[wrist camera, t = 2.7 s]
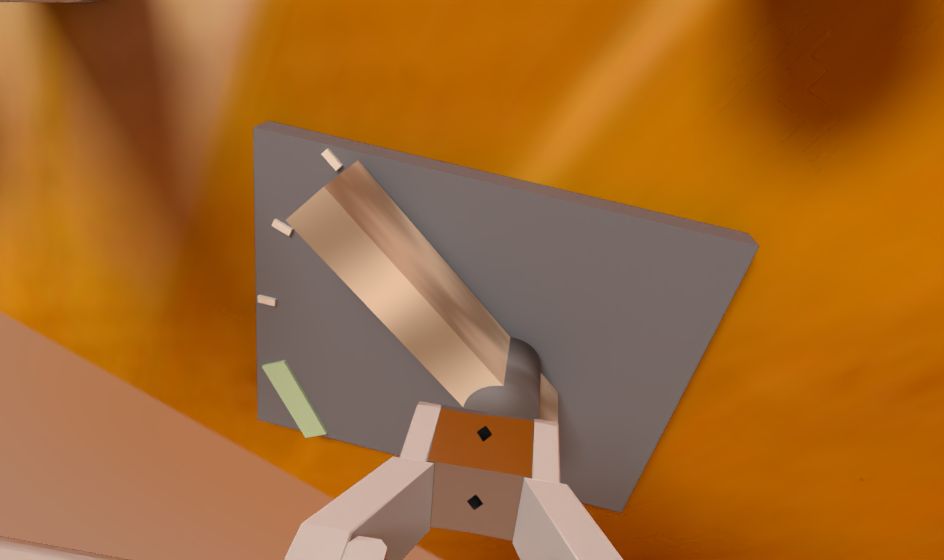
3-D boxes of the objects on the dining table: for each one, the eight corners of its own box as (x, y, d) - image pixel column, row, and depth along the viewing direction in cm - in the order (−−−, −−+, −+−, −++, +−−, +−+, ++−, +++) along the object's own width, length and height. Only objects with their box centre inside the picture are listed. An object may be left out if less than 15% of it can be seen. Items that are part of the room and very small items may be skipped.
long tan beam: (567, 387, 28) (568, 450, 24) (514, 414, 29) (507, 477, 26) (367, 152, 24) (328, 181, 20) (315, 197, 25) (270, 232, 21)
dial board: (748, 233, 25) (760, 248, 23) (617, 496, 34) (620, 518, 33) (268, 120, 26) (251, 128, 24) (269, 407, 35) (256, 425, 33)
